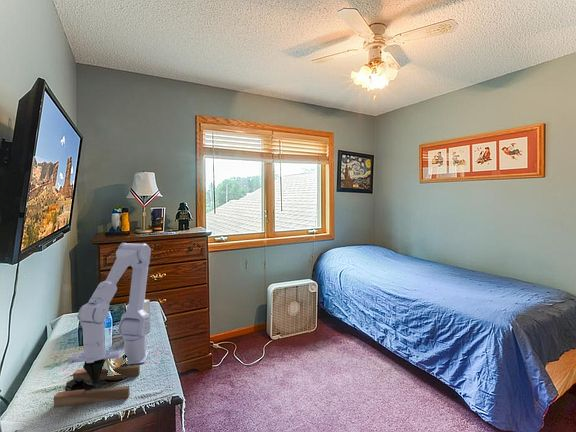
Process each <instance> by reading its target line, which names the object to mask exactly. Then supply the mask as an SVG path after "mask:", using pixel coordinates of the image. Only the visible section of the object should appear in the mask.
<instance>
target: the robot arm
mask: <svg viewBox="0 0 576 432" xmlns="http://www.w3.org/2000/svg"><path fill="white" fill-rule="evenodd" d="M151 253H152V249H151V247H150V246H149V244H147V243H130V242H129V243H127V242H121V243H120V245H119V246H118V248H117V250H116V251H115V256H116V259H115V260H114V263H113V265H112V266H111V269H110V271H109V272H108V275H107V277H106V279H105V280H104V281H100V282H99V283H98V285H97V287H96V289H95V291H93V293H92V295H91V297H90V298H89V300H88V302H87V303H85V304H83V305H82V306H81V307H80V308H79V310H78V314H77V315H76V318H77V320H78V322H80V327H81V328H82V337H83V338H82V339H83V342H82V343H83V352H80V353H77V354H71V355H69V357H67V364H68V365H71V364H73V363H82V362H84V364H83V366H82V367H83V369H85V370H86V371H87V373H88V374H89V376H90V378H91V381H90V382H91V383H92V384H91V385H97V384H98V383H99V382H100V381H101V380H100V375H101V371H102V369H104V365H105V362H106V360H114V359H115V360H119V359H120V358H121V357H122V353H121V352H122V350H111V349H110V350H109V349H106V340H105V339H106V337H105V336H106V334H105V332H106V331H105V320H106V319H107V317H108V315H109V309H110V306H111V305H110V303H111V302H112V300H113V298H114V297H115V294H116V293H117V291H118V287H117V284H118V282H119V280H120V278H122V276H123V274H124V273H125V272H126V270H127V269H128V267H131V268H132V273H131V280H130V289H129V290H130V291H129V298H128V299H129V300H128V304H129V305H128V304H127V305H128V311H127V310H126V311H125V312H124V313H123V314H121V319H120V322H119V323H118V327H117V331H118V334H120V335H121V338H122V339H123V346H124V347H123V348H124V352H123V353H124V356H125V355H126V356H127V360H128V361H127V365H126V366H130V365H139V364H144V363H145V362H146V361H147V357H148V356H149V354H150V351H151V350H150V349H149V348H148V333H149V332H150V331H151V330H150V326H151V320H150V321H149V317H150V318H151V315H150V316H149V314H148V313H146V312H145V311H144V301H145V299H146V291H147V282H148V281H147V280H148V273H149V272H148V271H149V265H150V263H151V262H150V261H151ZM149 330H150V331H149Z"/></svg>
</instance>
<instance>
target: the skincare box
mask: <svg viewBox="0 0 576 432" xmlns="http://www.w3.org/2000/svg"><path fill="white" fill-rule="evenodd" d="M128 305H129V303H128V304H126V312H127V311H128ZM144 311H145V312H146V313H148V314H149V316H150V317H149V321H150V322H151V302H150V299H146V298H145V301H144ZM151 328H152V327H151V325H150V330H149V332H150V331H151V330H152V329H151Z"/></svg>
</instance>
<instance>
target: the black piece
mask: <svg viewBox="0 0 576 432" xmlns="http://www.w3.org/2000/svg"><path fill="white" fill-rule="evenodd" d="M64 387H65V389H64V390H65V391H74V390H83V389H85V391H87V390H95V388H96V386H94V384H90V383H87V382H85V381H84V379H82V378H80V377H77V378H75V379H73V378H72V379H71V380H69V381H67V382H66V383H65V386H64ZM65 391H64V392H65Z"/></svg>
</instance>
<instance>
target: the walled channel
mask: <svg viewBox="0 0 576 432" xmlns="http://www.w3.org/2000/svg"><path fill="white" fill-rule="evenodd" d="M114 368H115V367H114ZM113 370H114V371H115V372H117V373H119V374H121V375H114V376H107V375H108V374H107V373H108V370H106V369H105V368H102V371H101V375H100V380H99V381H103V380H112V379H121V378H128V377H129V378H131V377H138V376H140V374H141V373H140V370H141V369H140V364H133V365H123V366H116V368H115V369H113ZM77 377H80V378H82V379H84V381H85V383H87V382H92V381H91V378H90V376H89V374H88V373H87V371H86V370H85V369H84V368H83V369H76V370H75V371H74V372H73V373H72V380H73V379H75V378H77ZM130 392H131V391H130V385H122V386H114V387H106V388H97V389H92V390H87V391H85V389H83V390H74V391H59V392H57V393H56V394H55V395H54V396H53V407H54V408H58V407H59V408H60V407H65V406H75V405H81V404H82V405H83V404H91V403H97V402H109V401H115V400H123V399H124V400H125V399H129V397H130Z"/></svg>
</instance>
